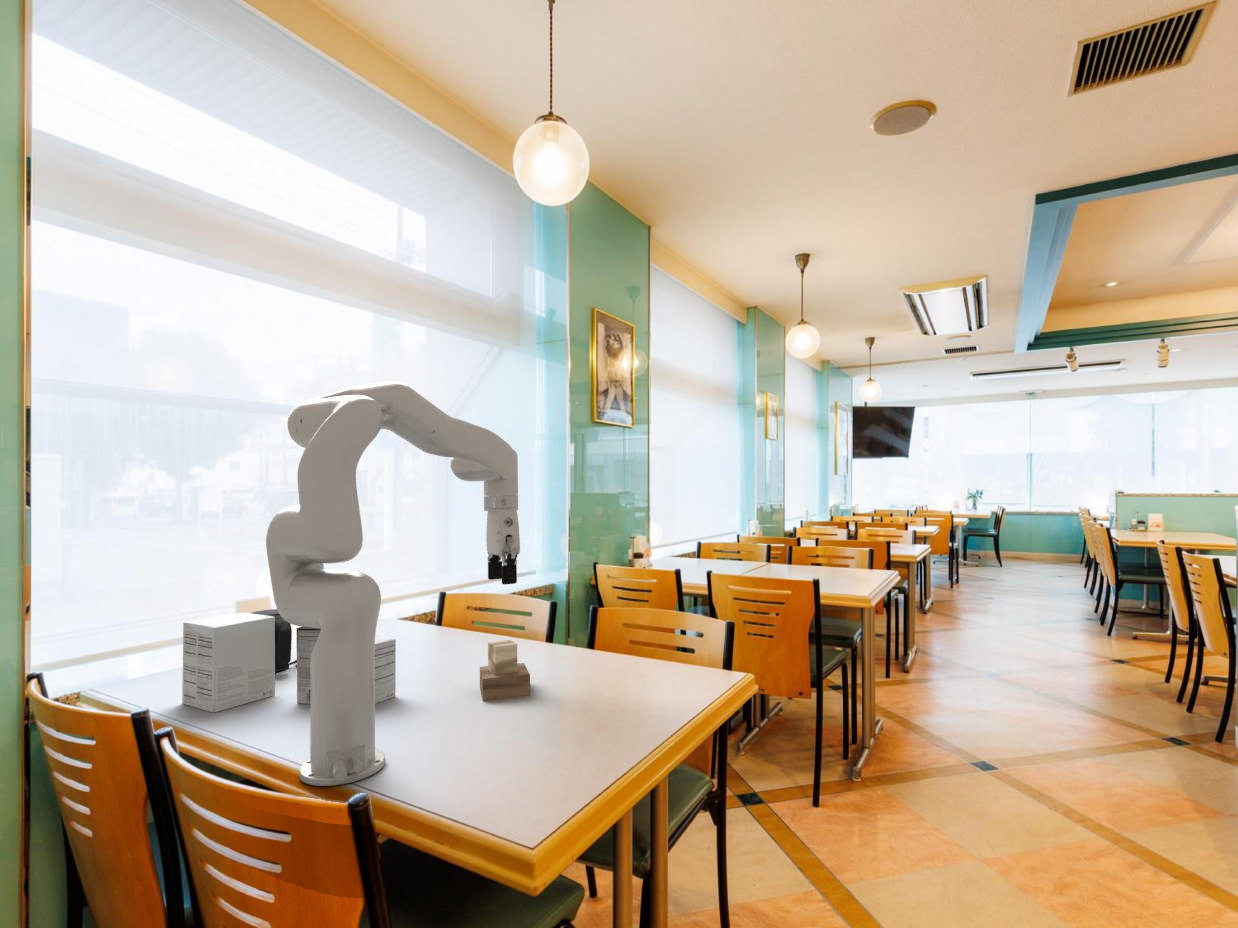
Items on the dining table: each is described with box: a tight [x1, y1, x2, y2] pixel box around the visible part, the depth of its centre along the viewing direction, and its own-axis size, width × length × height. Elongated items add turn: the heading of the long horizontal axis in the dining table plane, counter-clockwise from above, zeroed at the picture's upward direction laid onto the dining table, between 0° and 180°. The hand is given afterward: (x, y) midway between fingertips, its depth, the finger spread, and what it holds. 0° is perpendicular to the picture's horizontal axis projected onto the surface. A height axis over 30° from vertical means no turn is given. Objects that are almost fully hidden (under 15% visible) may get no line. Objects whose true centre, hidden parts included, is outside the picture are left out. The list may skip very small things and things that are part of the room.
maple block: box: [487, 639, 518, 675], centre depth 142 cm, size 5×5×6 cm
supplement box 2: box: [375, 636, 397, 705], centre depth 139 cm, size 7×7×13 cm
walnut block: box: [479, 662, 531, 702], centre depth 142 cm, size 10×10×5 cm
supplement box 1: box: [181, 611, 276, 713], centre depth 141 cm, size 13×13×18 cm
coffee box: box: [296, 626, 321, 705], centre depth 141 cm, size 9×6×16 cm
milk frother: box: [250, 608, 297, 673], centre depth 167 cm, size 14×16×15 cm
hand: (502, 581), depth 142 cm, fingers open, 9 cm apart
